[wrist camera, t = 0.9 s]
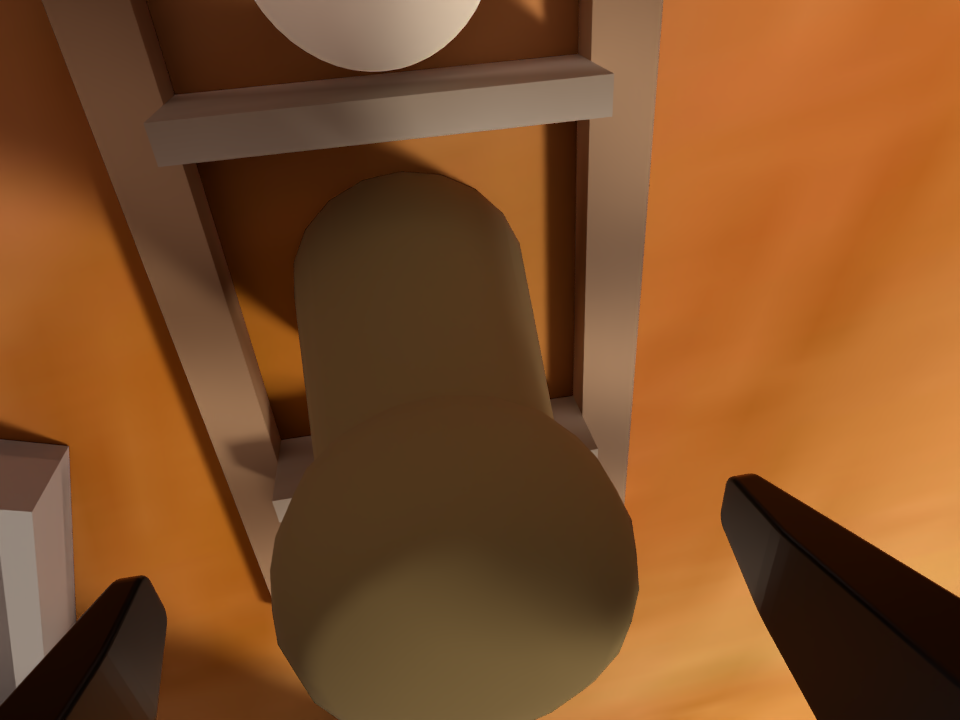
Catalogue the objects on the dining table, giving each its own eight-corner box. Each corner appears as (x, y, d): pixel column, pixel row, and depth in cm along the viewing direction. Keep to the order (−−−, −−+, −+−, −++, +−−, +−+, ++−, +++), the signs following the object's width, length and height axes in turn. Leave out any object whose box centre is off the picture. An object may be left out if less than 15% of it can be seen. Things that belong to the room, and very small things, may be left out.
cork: (277, 362, 18) (196, 811, 9) (312, 143, 15) (246, 474, 6) (487, 394, 20) (601, 797, 10) (556, 203, 17) (798, 531, 8)
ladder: (609, 553, 24) (633, 610, 22) (288, 610, 23) (281, 675, 21) (669, -392, 11) (741, -465, 9) (-71, -366, 10) (-183, -442, 8)
